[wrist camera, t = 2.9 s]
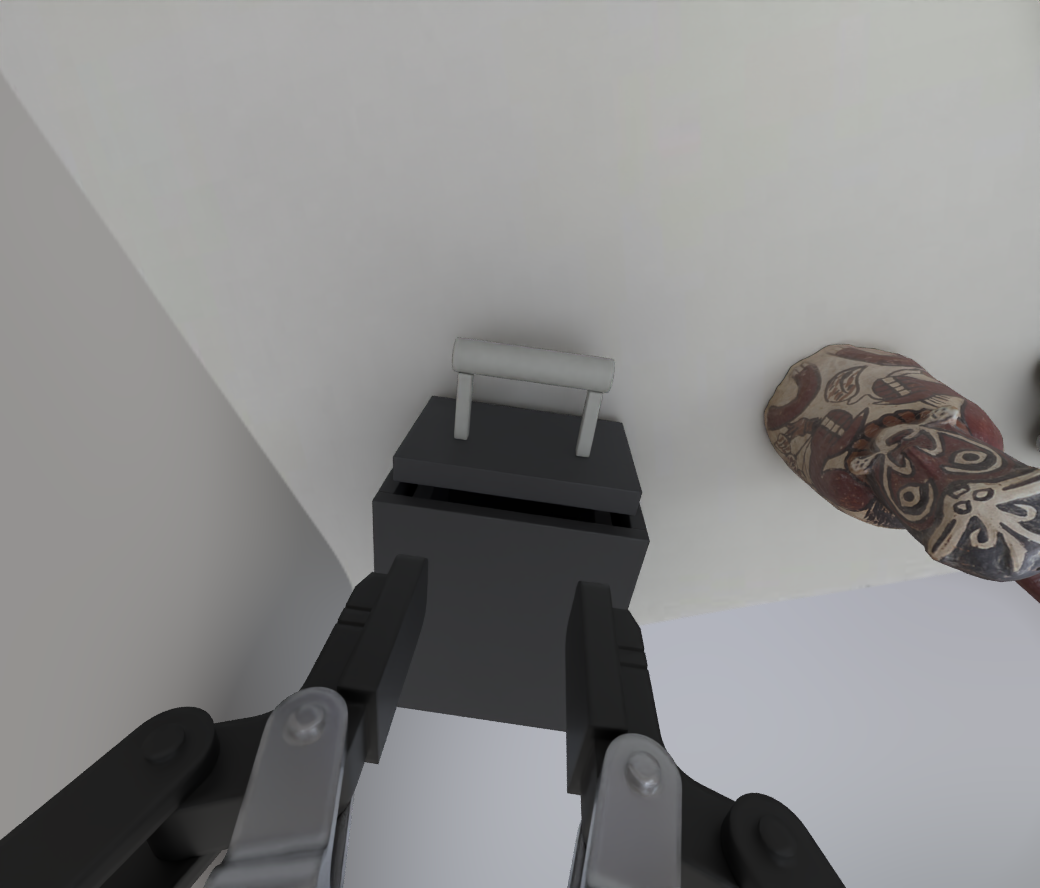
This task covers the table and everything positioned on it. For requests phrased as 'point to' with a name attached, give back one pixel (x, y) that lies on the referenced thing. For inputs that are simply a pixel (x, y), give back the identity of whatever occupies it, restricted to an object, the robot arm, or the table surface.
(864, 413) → the figurine
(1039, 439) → the chubby cartoon animal
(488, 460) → the drawer
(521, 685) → the cabinet
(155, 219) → the table surface
